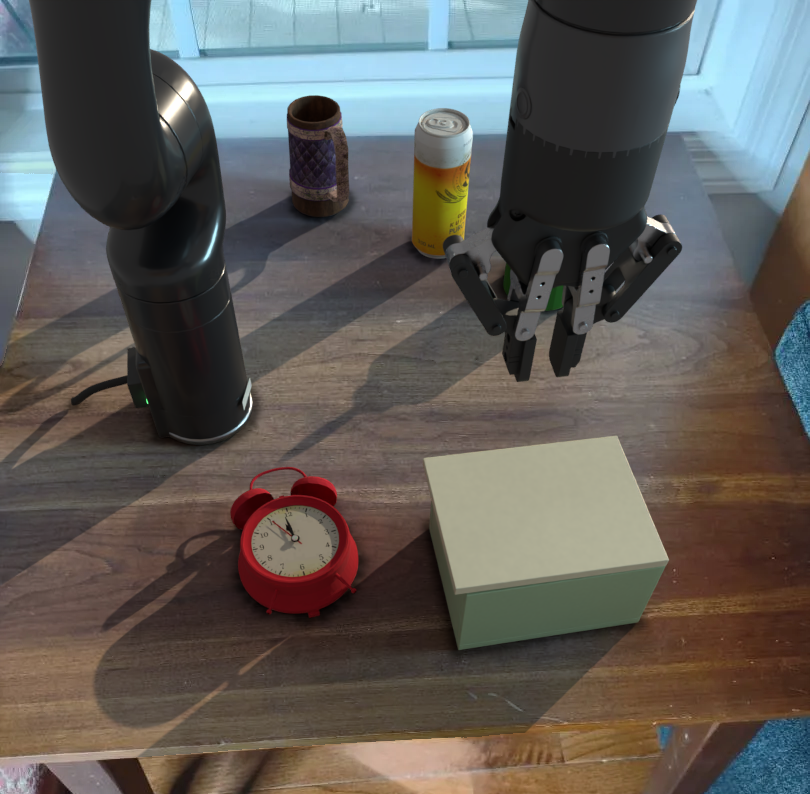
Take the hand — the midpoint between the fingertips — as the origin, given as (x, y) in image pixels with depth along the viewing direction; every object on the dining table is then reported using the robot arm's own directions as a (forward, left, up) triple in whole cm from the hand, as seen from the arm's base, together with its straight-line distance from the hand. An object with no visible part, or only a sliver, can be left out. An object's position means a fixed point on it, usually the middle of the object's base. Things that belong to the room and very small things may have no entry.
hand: (538, 369), depth 55 cm
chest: (+3, 0, -25) cm, 25 cm away
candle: (+14, +37, -25) cm, 47 cm away
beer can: (+4, +46, -25) cm, 53 cm away
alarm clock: (-17, +6, -25) cm, 31 cm away
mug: (-8, +55, -25) cm, 61 cm away
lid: (+3, 0, -16) cm, 16 cm away
